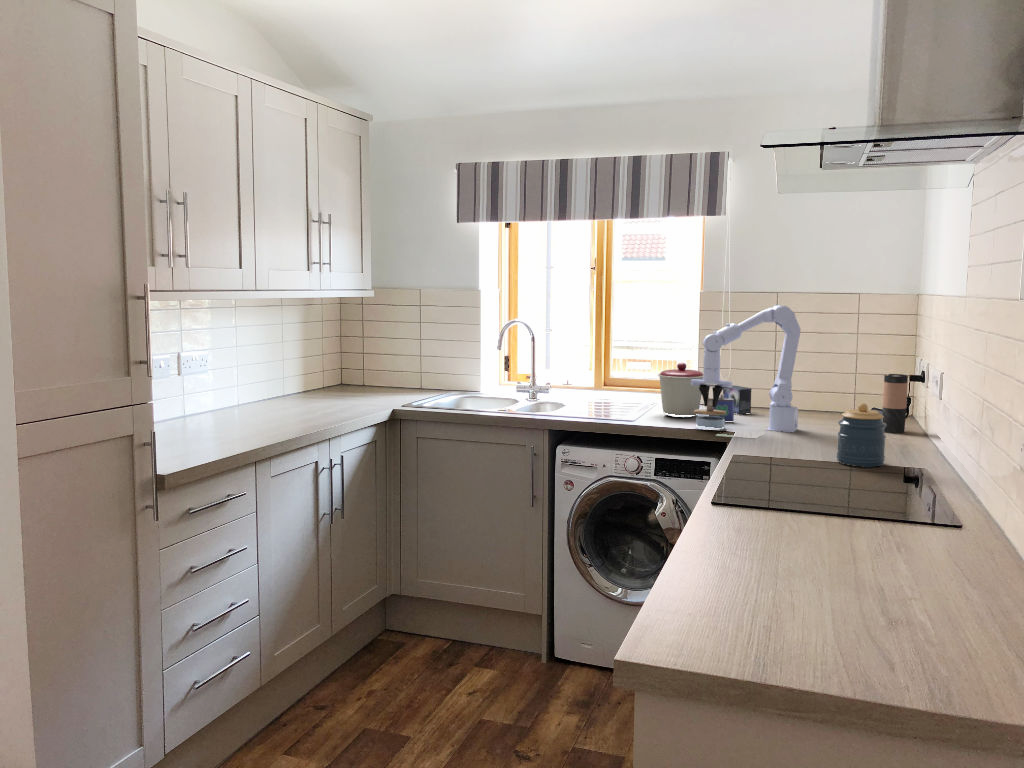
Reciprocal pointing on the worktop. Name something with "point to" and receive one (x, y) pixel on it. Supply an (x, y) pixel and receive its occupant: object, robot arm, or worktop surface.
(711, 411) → the lid
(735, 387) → the small box
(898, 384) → the travel mug
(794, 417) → the robot arm
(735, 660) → the worktop surface
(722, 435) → the mat
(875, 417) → the canister
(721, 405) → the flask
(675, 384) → the canister
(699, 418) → the bowl
